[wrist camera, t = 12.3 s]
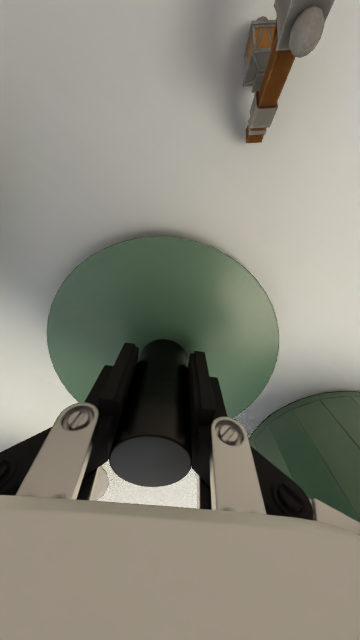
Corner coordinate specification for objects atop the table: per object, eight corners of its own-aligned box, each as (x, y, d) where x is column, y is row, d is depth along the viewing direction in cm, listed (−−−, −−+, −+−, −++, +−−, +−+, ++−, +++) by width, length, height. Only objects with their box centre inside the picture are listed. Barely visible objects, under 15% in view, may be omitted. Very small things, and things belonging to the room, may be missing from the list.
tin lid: (305, 255, 11) (487, 296, 4) (240, 431, 16) (279, 562, 10) (43, 216, 10) (-194, 198, 4) (66, 414, 16) (-13, 544, 9)
